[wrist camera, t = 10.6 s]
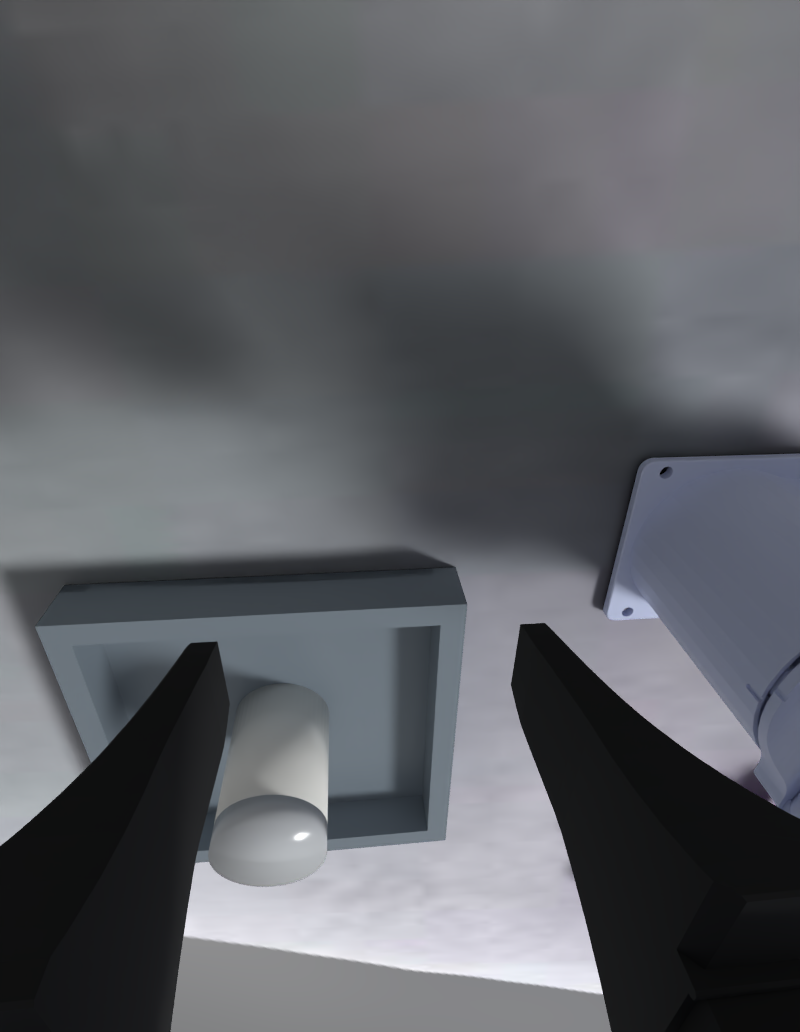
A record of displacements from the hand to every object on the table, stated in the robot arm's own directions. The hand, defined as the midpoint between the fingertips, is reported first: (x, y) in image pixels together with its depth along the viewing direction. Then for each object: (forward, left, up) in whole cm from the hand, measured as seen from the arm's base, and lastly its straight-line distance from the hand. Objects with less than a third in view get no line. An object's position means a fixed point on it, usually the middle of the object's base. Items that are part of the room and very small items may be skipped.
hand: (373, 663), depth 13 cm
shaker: (+4, +12, -9) cm, 15 cm away
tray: (+4, +12, -9) cm, 16 cm away
